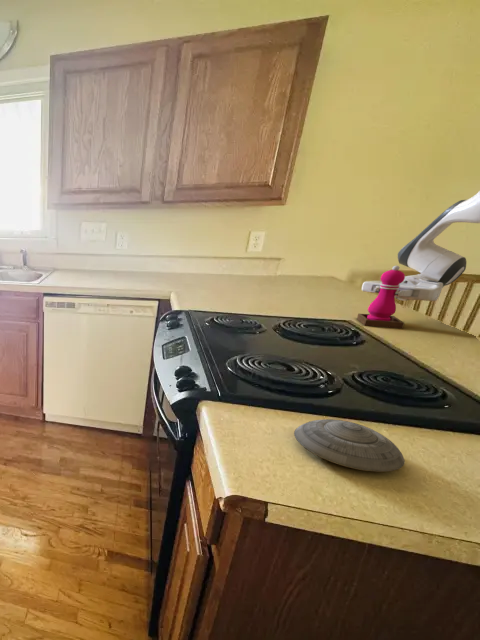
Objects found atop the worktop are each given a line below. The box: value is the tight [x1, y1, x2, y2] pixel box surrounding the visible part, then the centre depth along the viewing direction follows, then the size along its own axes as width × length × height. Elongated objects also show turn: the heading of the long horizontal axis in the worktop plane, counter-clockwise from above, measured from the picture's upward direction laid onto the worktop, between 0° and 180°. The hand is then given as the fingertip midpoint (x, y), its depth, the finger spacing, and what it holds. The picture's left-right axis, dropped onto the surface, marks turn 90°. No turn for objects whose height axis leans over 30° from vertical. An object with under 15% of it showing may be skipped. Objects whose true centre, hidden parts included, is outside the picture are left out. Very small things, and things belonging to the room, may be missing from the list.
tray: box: [356, 313, 405, 329], centre depth 142 cm, size 10×10×2 cm
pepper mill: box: [367, 265, 406, 321], centre depth 139 cm, size 7×7×20 cm
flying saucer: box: [293, 418, 406, 473], centre depth 69 cm, size 15×15×6 cm
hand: (386, 291), depth 138 cm, fingers closed on pepper mill, 5 cm apart
